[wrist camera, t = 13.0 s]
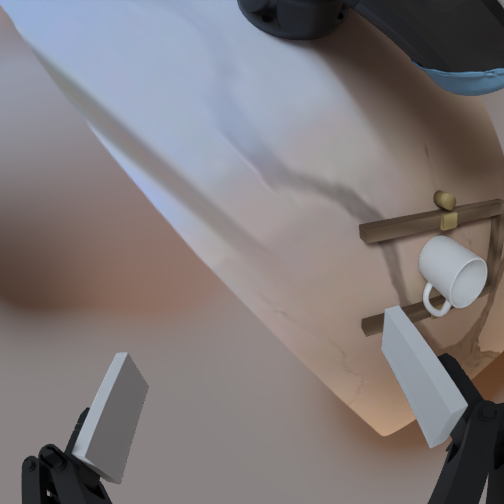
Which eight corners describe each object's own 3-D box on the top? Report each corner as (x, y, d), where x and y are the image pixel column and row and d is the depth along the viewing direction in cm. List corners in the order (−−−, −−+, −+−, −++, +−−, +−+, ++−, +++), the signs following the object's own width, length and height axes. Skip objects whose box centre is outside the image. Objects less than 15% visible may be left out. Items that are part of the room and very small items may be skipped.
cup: (459, 243, 40) (494, 267, 30) (428, 300, 44) (456, 331, 35) (431, 226, 39) (469, 250, 29) (398, 289, 43) (427, 323, 34)
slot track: (357, 203, 37) (366, 209, 34) (499, 182, 35) (510, 186, 32) (361, 328, 46) (367, 340, 43) (487, 286, 44) (496, 293, 41)
